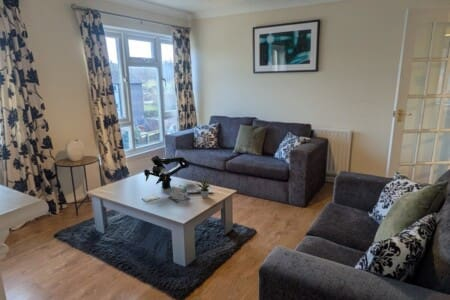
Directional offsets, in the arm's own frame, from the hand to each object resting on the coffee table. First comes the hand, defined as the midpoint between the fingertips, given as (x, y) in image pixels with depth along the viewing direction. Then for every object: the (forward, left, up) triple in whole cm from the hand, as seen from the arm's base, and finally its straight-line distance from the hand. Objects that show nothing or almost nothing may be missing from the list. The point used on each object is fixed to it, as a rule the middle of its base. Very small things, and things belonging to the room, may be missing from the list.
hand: (151, 182), depth 244 cm
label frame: (-15, +20, -12) cm, 28 cm away
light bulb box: (-15, +20, -12) cm, 28 cm away
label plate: (+3, +4, -12) cm, 13 cm away
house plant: (-34, +30, -12) cm, 47 cm away
